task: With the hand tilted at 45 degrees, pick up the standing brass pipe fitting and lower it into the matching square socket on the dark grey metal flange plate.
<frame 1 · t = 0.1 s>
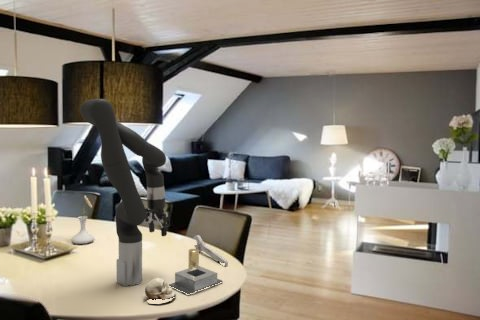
hand: (158, 233, 173), 17 cm above the table, tool pointing down, fingers open, 8 cm apart
wrench: (209, 258, 197), on the table
flower in vase: (83, 242, 218), on the table
brass fitting: (193, 272, 177), on the table
pipe socket: (196, 284, 163), on the table
skull: (159, 299, 150), on the table
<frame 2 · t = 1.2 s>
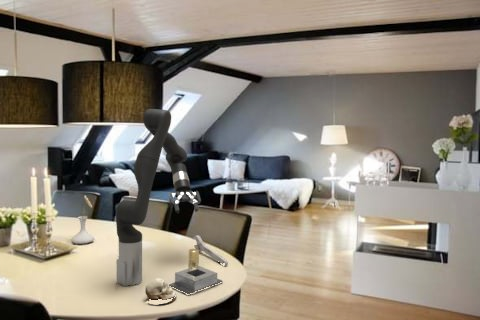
hand: (187, 211, 185), 25 cm above the table, tool tilted 45°, fingers open, 8 cm apart
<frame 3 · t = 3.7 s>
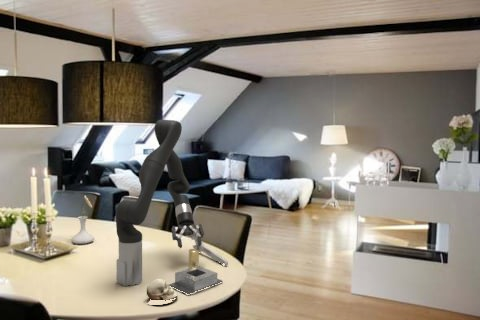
hand: (190, 246, 180), 10 cm above the table, tool tilted 45°, fingers open, 8 cm apart
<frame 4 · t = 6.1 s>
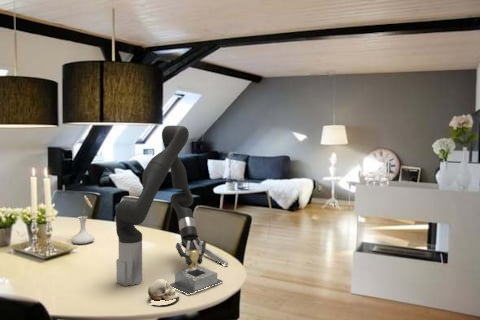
hand: (194, 263, 174), 5 cm above the table, tool tilted 45°, fingers closed on brass fitting, 4 cm apart
brass fitting: (193, 272, 177), on the table, touching gripper
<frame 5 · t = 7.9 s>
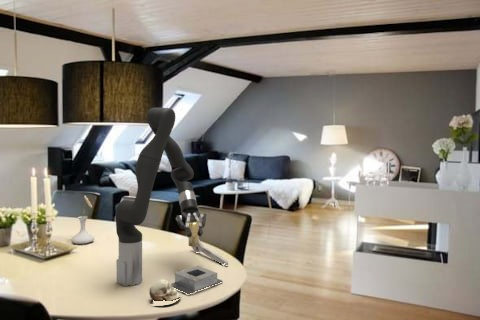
hand: (195, 235, 173), 17 cm above the table, tool tilted 45°, fingers closed on brass fitting, 4 cm apart
brass fitting: (193, 245, 175), point 12 cm above the table, touching gripper
when the fingers open (8 cm above the table, at t = 11.6 s): brass fitting drops 2 cm, resting on pipe socket.
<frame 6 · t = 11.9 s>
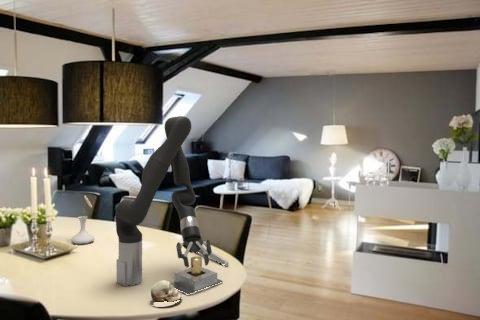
hand: (197, 265, 161), 9 cm above the table, tool tilted 45°, fingers open, 7 cm apart
brass fitting: (195, 282, 163), point 1 cm above the table, touching pipe socket
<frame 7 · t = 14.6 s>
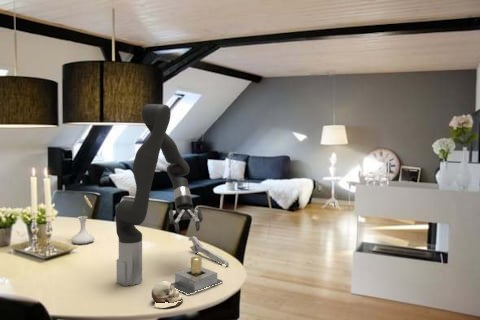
hand: (188, 231, 173), 19 cm above the table, tool tilted 45°, fingers open, 8 cm apart
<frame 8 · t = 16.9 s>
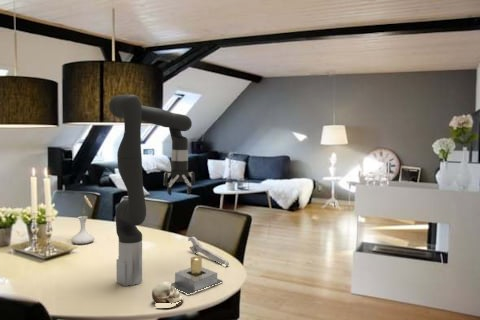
hand: (179, 194, 185), 32 cm above the table, tool pointing down, fingers open, 8 cm apart
at the end: brass fitting 0.1 cm off-centre on the pipe socket, point 1.0 cm above the pipe socket's base; brass fitting tilted 0°; the gripper is holding nothing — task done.
